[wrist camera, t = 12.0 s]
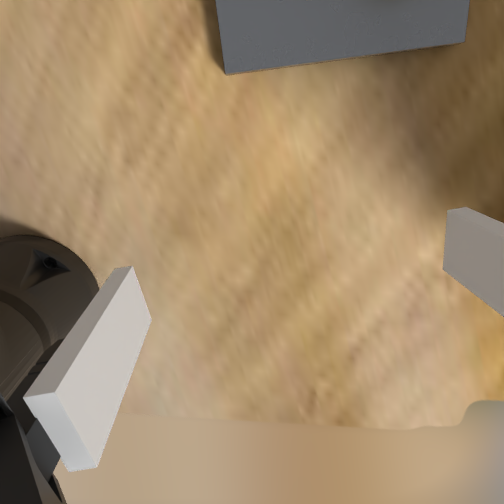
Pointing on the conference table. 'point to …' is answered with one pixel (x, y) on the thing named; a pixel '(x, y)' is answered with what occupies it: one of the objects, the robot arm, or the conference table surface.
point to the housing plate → (332, 30)
